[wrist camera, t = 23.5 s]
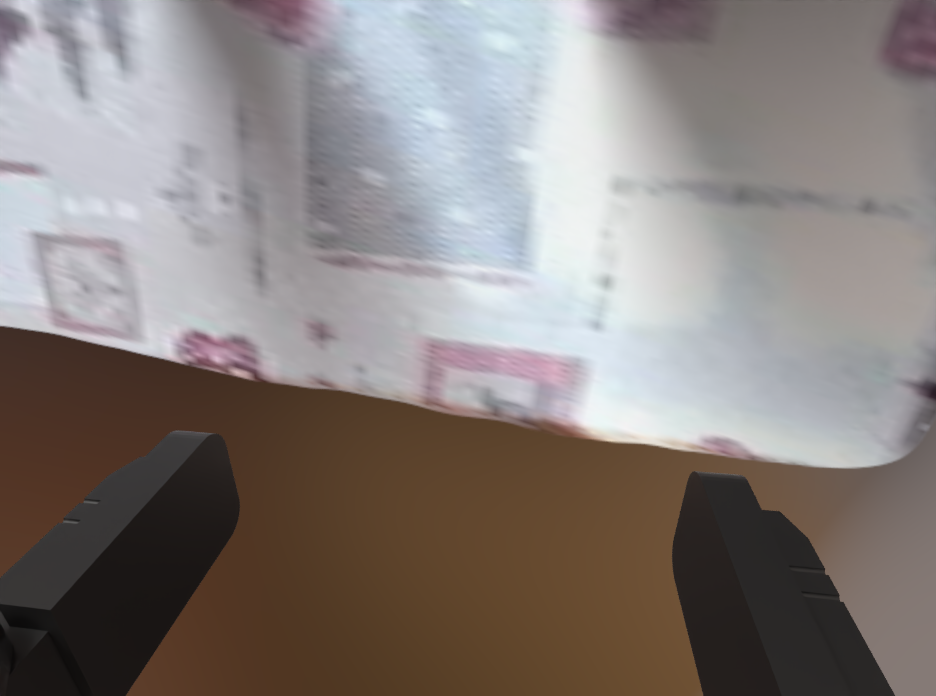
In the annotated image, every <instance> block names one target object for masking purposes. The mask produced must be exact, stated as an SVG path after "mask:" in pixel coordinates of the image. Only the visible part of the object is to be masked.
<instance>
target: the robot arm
mask: <svg viewBox="0 0 936 696" xmlns="http://www.w3.org/2000/svg"><path fill="white" fill-rule="evenodd" d="M239 511H240V502H239V496H238V493H237V488H236V484H235V480H234V476H233V472H232V468H231V464H230V459H229V455H228V451H227V447H226V444H225V441H224V439H223V438H222V436H220V435H219V434H213V433H201V432H190V431H173V432H171V433H169V434H168V435H167V436H166V437H165V438H164V439H163V440H162V441H161V442H160V443H158V444H157V445H156V447H154V448H153V449H152V450H151V451H150V452H149V453H148V454H147V455H146V457H139V458H138V459H136V460H134V461H132V462H131V463H129V464H127V465H126V466H124V467H122V468H121V469H119V470H117V471H115V472H114V473H112V474H110V475H109V476H108V477H106V479H104V480H103V481H102V482H101V483H100V484H99V485H98V486H97V487H96V488H95V489H94V490H93V491H92V492H91V493H90V494H88V496H86V497H85V500H84V503H83V504H81V503H79V504H78V505H77V506H76V507H75V508H74V509H73V510H72V511H71V512H69V514H67V515H66V516H65V517H64V521H63V523H58V524H57V525H56V526H55V527H54V528H53V529H51V530H50V531H49V532H48V533H47V534H46V535H45V536H44V537H43V538H42V539H41V540H40V541H39V542H38V543H37V544H36V545H35V546H34V547H32V548H31V549H30V550H29V551H28V552H27V553H26V554H25V555H24V556H23V557H22V558H21V559H20V560H19V561H18V562H17V563H15V564H14V566H12V567H11V568H10V569H9V570H8V571H7V572H6V573H5V574H4V575H3V576H2V577H1V578H0V696H126V694H127V693H128V691H129V690H130V688H131V687H132V685H133V684H134V682H135V681H136V679H137V678H138V676H139V675H140V673H141V672H142V670H143V669H144V667H145V665H146V664H147V662H148V661H149V660H150V658H151V657H152V655H153V654H154V652H155V651H156V649H157V648H158V646H159V645H160V643H161V642H162V640H163V639H164V637H165V635H166V634H167V633H168V631H169V630H170V628H171V627H172V625H173V624H174V622H175V620H176V619H177V617H178V616H179V614H180V613H181V611H182V610H183V608H184V607H185V605H186V604H187V602H188V601H189V599H190V598H191V596H192V595H193V593H194V592H195V590H196V589H197V587H198V586H199V584H200V583H201V581H202V580H203V578H204V577H205V575H206V574H207V572H208V571H209V569H210V568H211V566H212V565H213V563H214V562H215V560H216V559H217V557H218V556H219V554H220V553H221V551H222V550H223V548H224V547H225V545H226V544H227V542H228V541H229V539H230V538H231V536H232V534H233V532H234V530H235V527H236V525H237V522H238V517H239ZM672 562H673V573H674V579H675V583H676V587H677V591H678V595H679V599H680V603H681V607H682V611H683V615H684V619H685V623H686V628H687V631H688V635H689V639H690V644H691V648H692V651H693V656H694V660H695V664H696V667H697V671H698V676H699V679H700V683H701V688H702V692H703V696H895V695H894V693H893V691H892V689H891V687H890V686H889V684H888V682H887V680H886V678H885V677H884V675H883V673H882V671H881V670H880V668H879V666H878V664H877V662H876V660H875V658H874V657H873V655H872V653H871V651H870V650H869V648H868V646H867V644H866V642H865V640H864V639H863V637H862V635H861V633H860V631H859V630H858V628H857V626H856V624H855V622H854V620H853V619H852V617H851V615H850V613H849V611H848V610H847V608H846V606H845V604H844V602H840V600H839V593H838V592H837V590H836V588H835V586H834V585H833V582H832V581H831V579H830V577H829V575H825V568H824V566H823V565H822V563H821V561H820V560H819V557H818V555H817V553H816V552H815V550H814V548H813V546H812V544H811V543H810V541H809V539H808V538H807V537H806V536H805V535H804V534H803V533H802V532H801V531H800V530H799V529H798V528H797V527H796V526H795V525H793V524H792V523H791V522H790V521H789V520H788V519H787V518H786V517H785V516H784V515H783V514H782V513H781V512H779V511H768V510H761V508H760V505H759V503H758V501H757V499H756V497H755V495H754V493H753V491H752V489H751V487H750V485H749V483H748V481H747V479H746V478H745V477H744V476H742V475H733V474H721V473H708V472H696V471H694V472H692V473H691V474H690V476H689V479H688V482H687V486H686V490H685V495H684V498H683V503H682V507H681V511H680V515H679V519H678V523H677V527H676V532H675V536H674V541H673V549H672Z"/></svg>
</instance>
